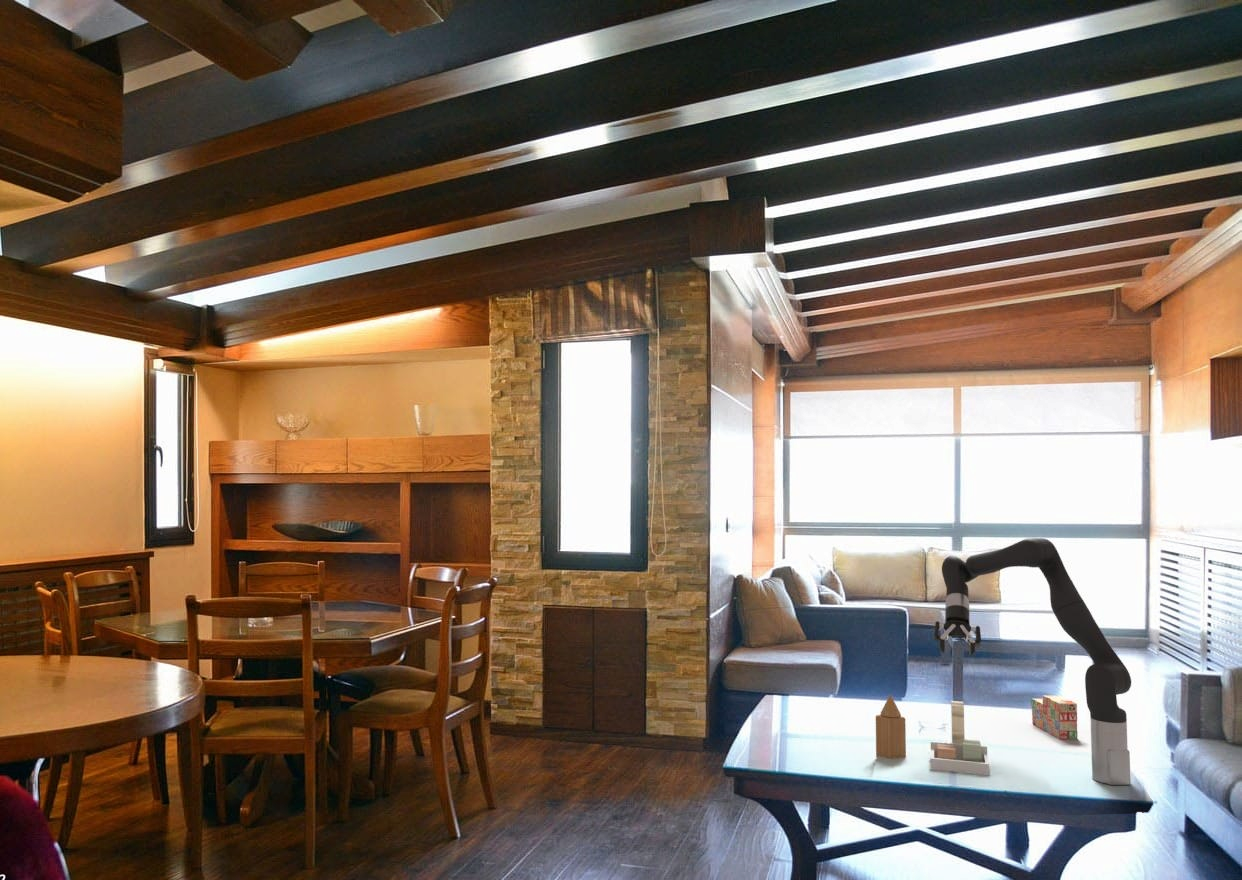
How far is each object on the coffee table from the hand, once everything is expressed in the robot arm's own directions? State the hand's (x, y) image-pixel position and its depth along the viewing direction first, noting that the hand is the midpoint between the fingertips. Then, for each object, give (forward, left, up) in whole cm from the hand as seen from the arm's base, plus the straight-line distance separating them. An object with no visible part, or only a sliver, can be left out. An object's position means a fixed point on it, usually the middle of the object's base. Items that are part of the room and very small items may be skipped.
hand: (957, 653), depth 287 cm
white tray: (-15, +7, -31) cm, 35 cm away
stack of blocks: (+24, -46, -32) cm, 61 cm away
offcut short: (-18, +13, -30) cm, 37 cm away
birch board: (-10, +5, -30) cm, 32 cm away
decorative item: (-7, +25, -31) cm, 41 cm away
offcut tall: (-21, +6, -30) cm, 37 cm away
